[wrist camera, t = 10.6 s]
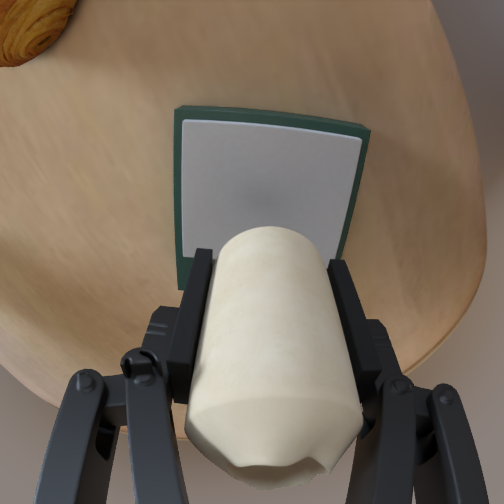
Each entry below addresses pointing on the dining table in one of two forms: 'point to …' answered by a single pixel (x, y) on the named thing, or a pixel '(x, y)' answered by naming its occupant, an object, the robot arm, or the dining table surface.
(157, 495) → the robot arm
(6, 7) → the croissant
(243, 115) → the scale
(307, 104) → the dining table surface
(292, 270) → the candle
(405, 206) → the dining table surface
